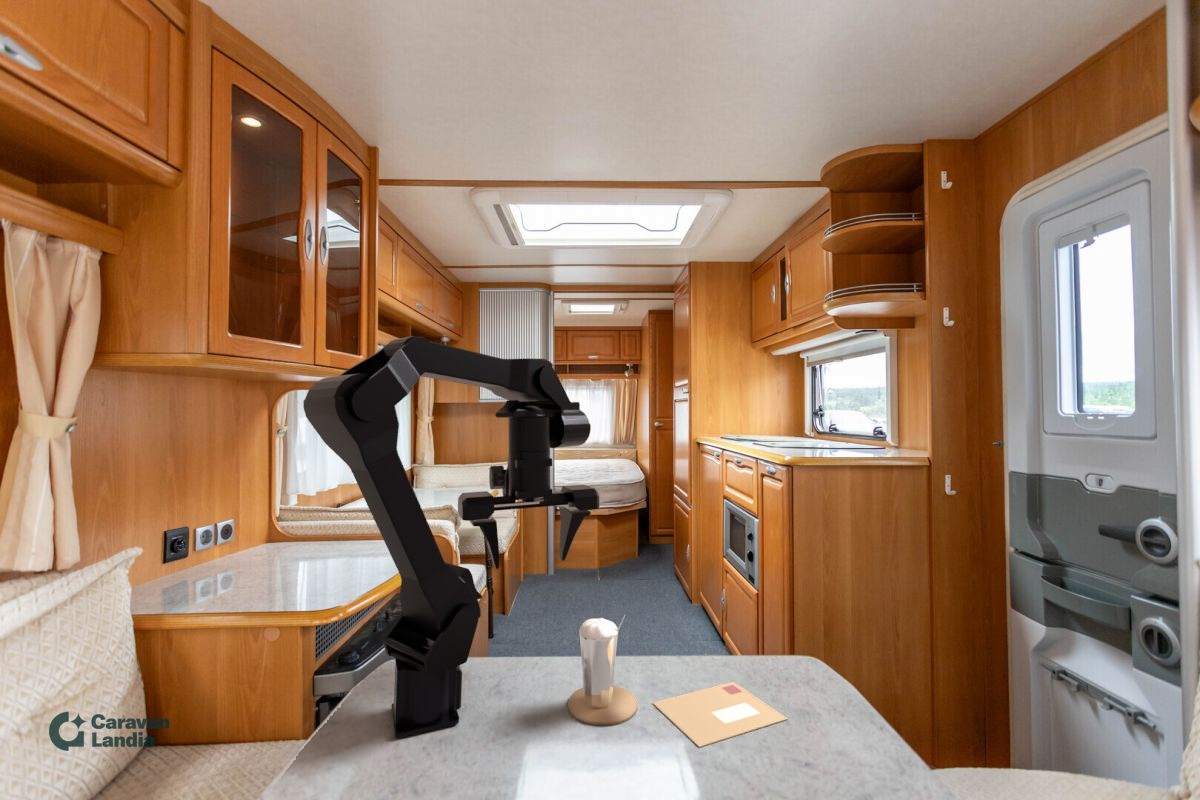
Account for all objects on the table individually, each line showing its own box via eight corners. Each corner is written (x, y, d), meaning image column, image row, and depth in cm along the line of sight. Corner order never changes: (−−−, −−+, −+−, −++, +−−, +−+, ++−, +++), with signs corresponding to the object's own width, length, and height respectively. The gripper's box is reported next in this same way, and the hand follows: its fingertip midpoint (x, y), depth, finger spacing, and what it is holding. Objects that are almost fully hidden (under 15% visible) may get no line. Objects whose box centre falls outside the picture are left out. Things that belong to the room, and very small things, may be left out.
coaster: (585, 732, 53) (585, 728, 53) (558, 696, 60) (558, 692, 60) (650, 715, 56) (650, 711, 56) (617, 682, 64) (617, 679, 64)
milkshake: (623, 714, 56) (623, 621, 56) (575, 710, 57) (576, 619, 57) (625, 692, 60) (626, 607, 61) (581, 689, 61) (582, 605, 62)
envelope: (699, 747, 51) (699, 746, 51) (652, 703, 59) (652, 702, 59) (787, 719, 56) (787, 718, 56) (733, 682, 64) (733, 681, 64)
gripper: (573, 444, 81) (574, 543, 80) (453, 449, 74) (453, 557, 73) (600, 449, 70) (601, 562, 70) (462, 455, 63) (463, 580, 63)
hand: (530, 564), depth 69 cm, fingers open, 9 cm apart
